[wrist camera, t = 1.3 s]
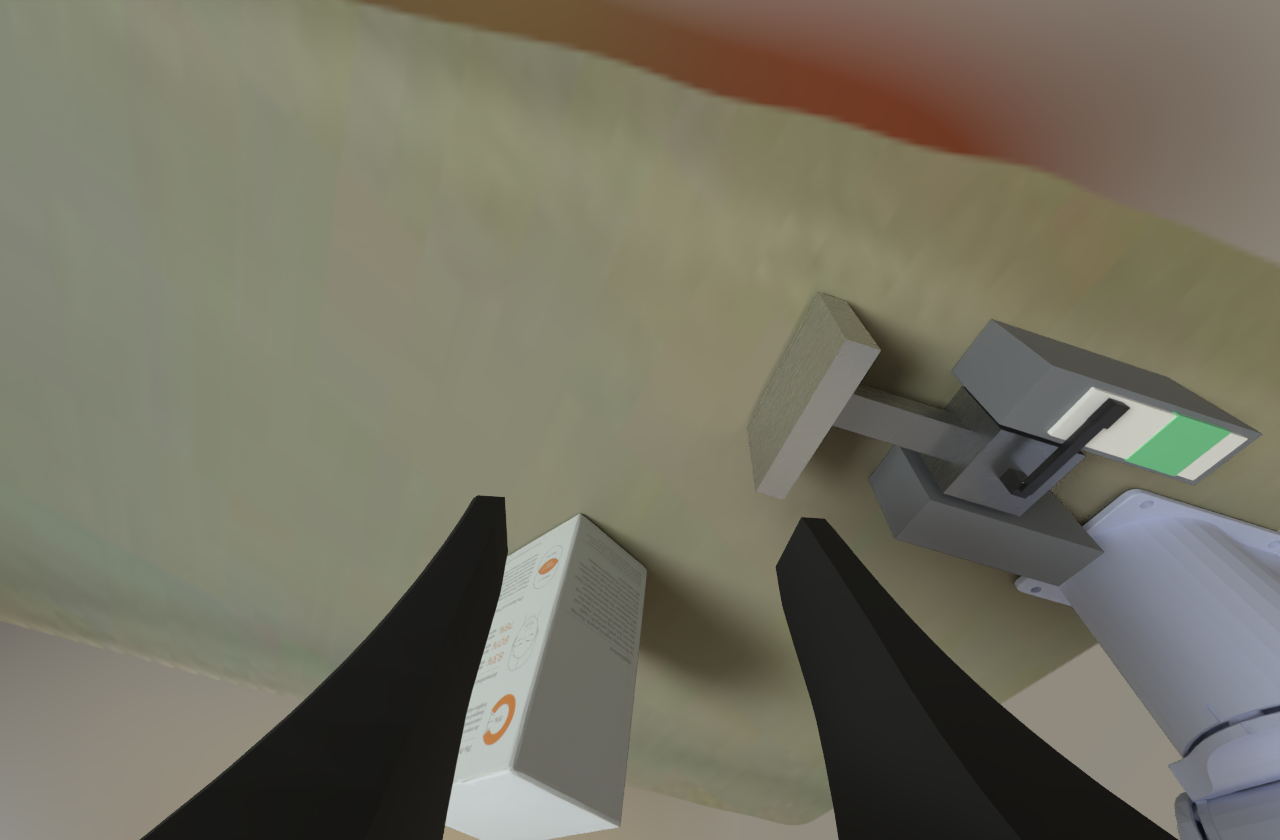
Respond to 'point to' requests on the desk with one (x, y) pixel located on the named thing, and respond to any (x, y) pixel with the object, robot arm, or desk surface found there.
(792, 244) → the desk surface
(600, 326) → the desk surface
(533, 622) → the small box
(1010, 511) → the plunger
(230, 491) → the desk surface
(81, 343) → the desk surface
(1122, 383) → the gauge housing
